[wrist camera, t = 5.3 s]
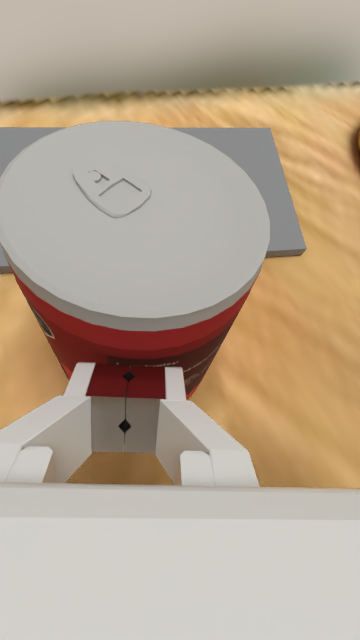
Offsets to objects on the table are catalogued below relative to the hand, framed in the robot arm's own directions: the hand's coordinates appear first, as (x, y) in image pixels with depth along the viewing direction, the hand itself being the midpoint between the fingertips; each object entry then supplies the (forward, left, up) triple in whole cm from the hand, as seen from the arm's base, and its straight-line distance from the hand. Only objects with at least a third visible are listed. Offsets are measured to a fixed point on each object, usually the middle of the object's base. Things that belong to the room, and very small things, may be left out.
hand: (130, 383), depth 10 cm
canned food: (+3, 0, -9) cm, 9 cm away
